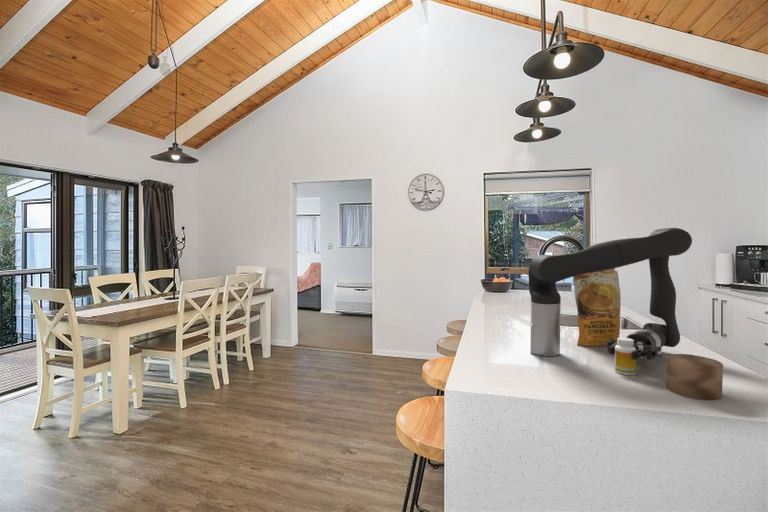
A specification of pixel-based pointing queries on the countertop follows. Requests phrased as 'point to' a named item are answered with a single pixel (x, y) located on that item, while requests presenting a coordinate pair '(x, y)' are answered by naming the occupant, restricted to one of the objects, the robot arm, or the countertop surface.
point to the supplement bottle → (624, 357)
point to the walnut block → (694, 376)
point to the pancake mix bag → (598, 307)
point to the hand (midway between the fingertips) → (621, 353)
